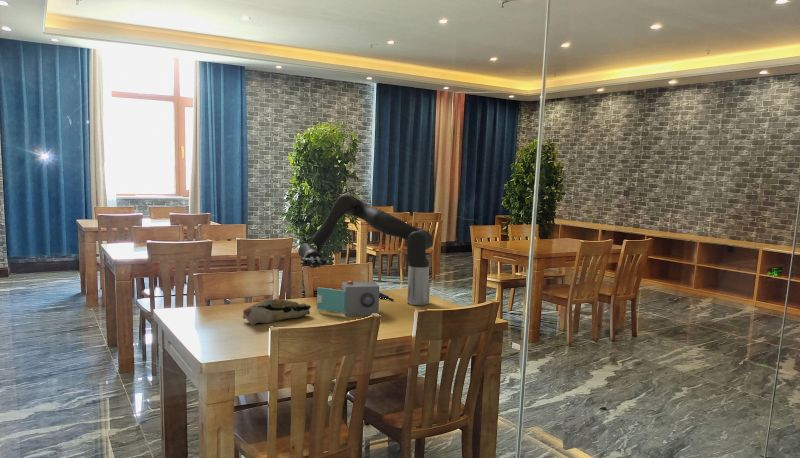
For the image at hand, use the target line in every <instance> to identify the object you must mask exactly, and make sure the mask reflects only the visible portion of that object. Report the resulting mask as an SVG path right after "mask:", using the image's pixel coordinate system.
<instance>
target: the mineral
mask: <svg viewBox="0 0 800 458" xmlns="http://www.w3.org/2000/svg"><path fill="white" fill-rule="evenodd" d="M311 308H312V306H311V305H309V304H306V303H305V302H302V303H299V302H297V301H293V300H287V299H281V298H279V299H278V298H275V299H271V298H265V299H261V300H260V301H259V302H257V303H254V304H253V305H251V306H248V307H246V308H244V309H243V310H242V313H243V314H242V315H243V316H242V318H243V319H242V320H245V319H246V321H248V323H249V324H250V326H253V325H256V324H258V323H262V324H265V323H266V324H270V323H272V322H278V321H283V320H289V319H297V318H303V317H304V316H307V315H311V311H310V310H311Z"/></svg>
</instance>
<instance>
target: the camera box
mask: <svg viewBox="0 0 800 458" xmlns="http://www.w3.org/2000/svg"><path fill="white" fill-rule="evenodd" d="M341 290H342V291H345V313H343V315H344V316H345V317H355V316H359V317H360V316H371V315H370V314H372V313H378V314H379V315H380V313H379V312H380V310H379V309H380V299H379V292H380V285H379V284H378V283H376V281H354V280H347V281H342V282H341Z"/></svg>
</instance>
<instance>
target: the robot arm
mask: <svg viewBox="0 0 800 458" xmlns="http://www.w3.org/2000/svg"><path fill="white" fill-rule="evenodd" d="M334 202H335V203H334V204H333V206H332V208H331V210H330V211H329V212H328V215H327V216H326V218H325V220H324V221H323V223H322V225H321V226H320V227H319V228H318V230H317V231H316V232H315V233H314V235H313V236H312V237H311V242H312V243H313V244H314V245H315V247H316V248H315V247H314V246H312V245H311V244H310V243H302V244H301V245H300V246H299V248H298V251H297V252H298V255H299V256H300V257H301V258H300V265H302V266H303V265H304V266H308V267H309V268H313V269H314V268H320V267H322V266H325V265H328V264H330V263H329V262H330V261H329V259H330V258H329V257H326V258H324V257H322V254H321V253H322V251H323V248H324V247H325V245H326V243H328V242H329V240H330V239H331V238H332V237H333V234H334V232H335V229H336V226H337V224H338V222H339V220H340V219H341V218H342V217H343V216H344V215H349V216H352V217H356V218H359V219H361V220H363V221H364V222H365V223H367V224H368V225H369V226H370V227H372V228H373V229H374V230H375V231H378V232H380V233H383V234H384V235H388V236H392V237H395V238H399V239H403V240H406V258H407V261H408V267H407V268H408V272H407V275H408V276H407V300H406V301H407V304H408V303H409V304H408V305H412V306H425V305H430V292H431V291H430V287H431V284H430V283H429V276H430V272H429V271H430V260H429V259H428V258H427V254H426V253H427V252H426V250H429V249H430V248H431V247H432V246H433V244H434V238H433V236H432V235H431V233H430V232H429V231H427V230H425V229H422V228H420V227H416V226H413V225H411V224H409V223H407V222H406V221H403V220H401V219H400V218H398V217H396V216H394V215H393V214H390V213H387V212H385V211H383V210H381V209H379V208H376V207H373V206H370V205H368V204H366V203H365V202H363V201H361V200H360V199H359V198H357V197H355V196H353V195H349V194H341V195H339V196H338V197H337V199H336V200H335V201H334Z"/></svg>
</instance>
